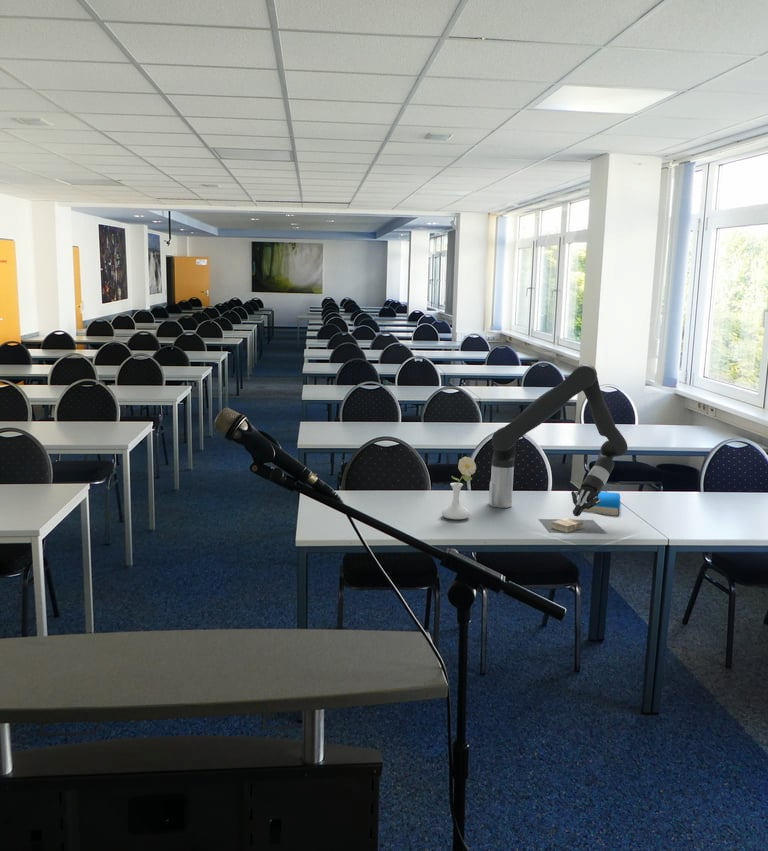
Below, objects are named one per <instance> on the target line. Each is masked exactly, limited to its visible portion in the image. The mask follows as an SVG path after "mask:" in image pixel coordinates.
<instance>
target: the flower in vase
mask: <svg viewBox="0 0 768 851" xmlns="http://www.w3.org/2000/svg"><path fill="white" fill-rule="evenodd" d="M457 464H458V467H457V468H458V470H459V472H460V473H461V477H460V479H459V478H457V477H455V476H453V475H451V479H453V480H455V481H457V482H451V483H450V486H451V488H452V491H453V492H452V494H453V498H452V502H451V503H449V504H448V505H447V506H446V507H444V508H443V509H442V510H441V512H440V513H441V516H442V517H444V518H446V519H449V520H465V519H468V518H469V517H470V515H471V513H470V511H469V510H468V509H467V508H466V507H465V506H463V504H461V503H460V492H461V489H462V487H463V486H464V484H463V483H461V480H462V479H463V480H464V481H465V482H469V481H472V480H473V478H472V477H471V476H472V475H474V474H475V473H476V470H477V464H476V463H475V461H474V459H473V458H471V457H470V456H468V457H467V456H464V457H461V458H460V459H459V460H458V463H457Z"/></svg>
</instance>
